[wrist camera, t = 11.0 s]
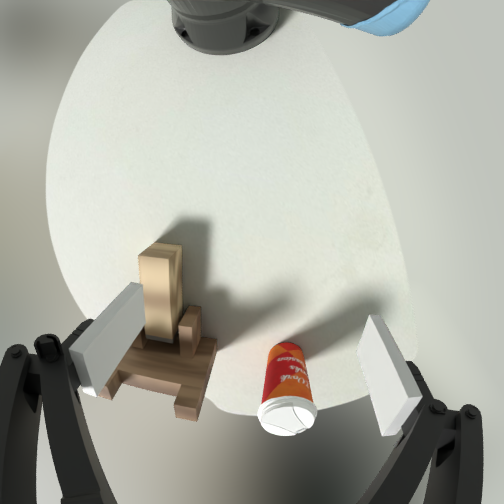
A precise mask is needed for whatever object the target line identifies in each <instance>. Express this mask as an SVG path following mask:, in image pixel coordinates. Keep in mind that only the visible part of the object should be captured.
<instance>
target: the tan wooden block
mask: <svg viewBox="0 0 504 504" xmlns="http://www.w3.org/2000/svg"><path fill="white" fill-rule="evenodd" d="M138 263H139V277H140V284H143V294H144V308H145V320H146V324H145V325H144V326H145V334H146V338H147V339H152V340H157V341H162V342H167V343H173V342H174V340H175V338H176V336H177V334H178V332H179V326H178V325H179V323H180V322H181V320H182V318H183V300H182V245H175V244H165V243H156V242H154V243H153V244H152V245H151V246H149V247H148V248H147V249H146V250H144V251H143V252H142V253H141V254H139V255H138Z"/></svg>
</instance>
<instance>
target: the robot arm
mask: <svg viewBox="0 0 504 504" xmlns="http://www.w3.org/2000/svg"><path fill="white" fill-rule="evenodd" d="M167 1H168V2H169V3H170V5H171V6H172V23H173V26H174V29H175V31H176V33H177V34H178V35H179V37H180V38H181V39H182V40H183V41H184V42H185V43H186V44H187V45H188V46H190V47H191V48H193V49H195V50H197V51H199V52H202V53H206V54H211V55H229V54H235V53H239V52H243V51H246V50H248V49H251V48H253V47H255V46H256V45H258V44H260V43H261V42H262V41H264V40H265V39H266V38H267V37H268V36H269V35H270V34H271V33H272V31H273V30H274V28H275V26H276V24H277V22H278V18H279V7H281V8H286V9H290V10H294V11H299V12H303V13H307V14H311V15H314V16H318V17H321V18H325V19H328V20H332V21H334V22H337V23H340V24H341V25H342V26H344V27H347V28H356V29H358V30H362V31H364V32H367V33H370V34H373V35H376V36H387V35H388V36H391V35H394V34H397V33H399V32H401V31H403V30H404V29H405V28H407V27H408V26H409V25H410V24H412V23H413V22H414V21H415V20H416V19H417V18H418V16H419V15H420V14H421V13H422V12H423V10H424V9H425V7H426V6H427V5H428V3H429V1H430V0H167ZM145 324H146V320H145V308H144V294H143V284H139V283H134V282H131V283H130V284H129V285H128V286H127V287H126V288H125V289H124V290H123V291H122V292H121V293H120V294H119V295H118V296H117V297H116V298H115V299H114V300H113V301H112V302H111V303H110V304H109V305H108V307H107V308H106V309H105V310H104V311H103V312H102V313H101V314H100V315H99V316H98V317H97V318H96V319H95V320H93V319H88V320H86V321H84V322H82V323H81V324H80V325H79V326H78V327H77V328H76V330H74V331H73V332H72V334H70V335H69V336H68V338H67V339H66V340H65V341H64V342H63V343H62V344H61V343H60V340H59V338H58V337H57V336H56V335H54V334H45V335H41V336H40V337H38V338H37V339H36V340H35V342H34V347H35V349H36V352H37V355H35V354H29V353H28V350H27V348H26V347H25V346H24V345H21V344H16V345H13V346H11V347H10V348H8V349H7V351H6V352H5V355H4V357H3V360H2V363H1V366H0V504H37V501H36V461H37V444H38V432H39V423H40V415H41V408H42V402H43V410H44V417H45V423H46V429H47V434H48V439H49V445H50V449H51V454H52V458H53V462H54V466H55V470H56V473H57V477H58V481H59V484H60V487H61V490H62V494H63V497H62V499H61V504H117V501H116V500H115V497H114V495H113V493H112V491H111V488H110V486H109V484H108V482H107V479H106V477H105V474H104V472H103V469H102V467H101V464H100V462H99V459H98V456H97V454H96V451H95V448H94V445H93V442H92V439H91V436H90V433H89V430H88V426H87V423H86V420H85V416H84V413H83V409H82V405H81V402H80V397H79V393H78V391H77V389H78V387H79V386H80V385H81V386H82V389H83V391H84V393H87V394H89V395H92V396H95V397H97V396H98V395H99V393H100V392H101V390H102V389H103V387H104V386H105V384H106V382H107V381H108V379H109V378H110V376H111V375H112V373H113V372H114V370H115V368H116V367H117V365H118V364H119V362H120V361H121V359H122V358H123V356H124V355H125V353H126V352H127V350H128V349H129V347H130V346H131V344H132V343H133V341H134V340H135V338H136V337H137V335H138V334H139V332H140V331H141V330H142V328H143V327H144V325H145ZM356 354H357V357H358V359H359V362H360V366H361V369H362V372H363V375H364V378H365V381H366V384H367V387H368V390H369V394H370V396H371V400H372V403H373V407H374V410H375V414H376V417H377V420H378V424H379V427H380V431H381V435H382V436H388V435H396V434H397V432H398V431H399V430H400V428H401V427H402V430H403V435H402V436H401V437H400V438H399V440H398V441H397V442H396V443H395V444H394V446H395V448H394V449H393V451H392V453H391V454H390V456H389V457H388V459H387V461H386V462H385V464H384V466H383V467H382V468H381V470H380V471H379V473H378V474H377V476H376V477H375V479H374V480H373V482H372V483H371V485H370V486H369V488H368V489H367V490H366V491H365V493H364V494H363V496H362V497H361V498H360V500H359V501H358V502H357V504H409V502H410V500H411V498H412V497H413V495H414V493H415V491H416V489H417V487H418V485H419V483H420V481H421V479H422V477H423V475H424V473H425V471H426V469H427V466H428V464H429V462H430V460H431V457H432V461H431V468H430V474H429V479H428V484H427V489H426V494H425V499H424V503H423V504H481V500H482V487H483V430H482V417H481V413H480V411H479V410H478V408H476V407H475V406H473V405H471V404H466V405H464V406H463V407H462V408H461V409H460V411H453V410H448V409H447V407H446V405H445V404H444V403H443V402H441V401H440V400H437V399H434V398H433V396H432V394H431V392H430V390H429V388H428V386H427V384H426V382H425V381H424V378H423V377H422V375H421V373H420V371H419V369H418V367H417V366H416V365H415V364H414V363H413V362H412V361H405V359H404V357H403V355H402V353H401V352H400V350H399V348H398V346H397V344H396V342H395V340H394V338H393V336H392V335H391V333H390V331H389V329H388V327H387V325H386V324H385V322H384V320H383V318H382V316H381V315H371V314H369V317H368V320H367V323H366V325H365V328H364V331H363V334H362V336H361V339H360V342H359V344H358V347H357V350H356Z"/></svg>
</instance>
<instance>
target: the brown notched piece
mask: <svg viewBox="0 0 504 504" xmlns="http://www.w3.org/2000/svg"><path fill="white" fill-rule="evenodd" d="M178 326H179V333H178V334H177V336H176V338H175V340H174V342H173V343H167V342H162V341H157V340H152V339H147V338H146V334H145V326H144V327H143V328H142V330H141V331H140V332H139V334H138V335H137V337H136V338H135V340H134V341H133V343H132V344H131V346H130V347H129V349H128V350H127V352H126V353H125V355H124V356H123V358H122V359H121V361H120V362H119V364H118V365H117V367H116V368H115V370H114V372H113V373H112V375H111V376H110V378H109V379H108V381H107V382H106V384H105V386H104V387H103V389H102V390H101V392H100V393H99V395H98V396H100V397H103V398H106V399H109V400H112V399H113V397H114V396H115V394H116V392H117V391H118V389H119V387H120V386H121V384H122V383H123V384H127V385H130V386H135V387H138V388H142V389H146V390H150V391H154V392H158V393H163V394H167V395H172V396H177V397H176V400H175V402H174V409H175V415H176V418H182V419H186V420H191V421H196V422H197V420H198V417H199V413H200V410H201V406H202V402H203V399H204V395H205V392H206V388H207V385H208V381H209V378H210V374H211V370H212V367H213V363H214V360H215V356H216V353H217V339H213V338H206V337H201V307H197V306H190V305H189V306H188V308H187V310H186V312H185V314H184V316H183V318H182V320H181V322H180V323H179V325H178Z"/></svg>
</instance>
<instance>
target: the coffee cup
mask: <svg viewBox="0 0 504 504" xmlns="http://www.w3.org/2000/svg"><path fill="white" fill-rule="evenodd" d="M316 416H317V408H316V406H315V405H314V404H313V399H312V394H311V389H310V384H309V379H308V374H307V369H306V364H305V360H304V356H303V352H302V350H301V348H300V347H299V346H297V345H296V344H293V343H289V342H285V343H280V344H277V345H275V346H274V347H273V348H272V349H271V350H270V352H269V356H268V362H267V369H266V376H265V383H264V390H263V397H262V403H261V406H260V408H259V410H258V419H259V420H260V422H261V425H262V427H263V428H264V429H265V430H266V431H268V432H270V433H272V434H276V435H281V436H290V435H295V434H296V433H300V432H302V431H305V430H306V428H310V427H311V426H312V425H313V423H314V420H315V418H316Z"/></svg>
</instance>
